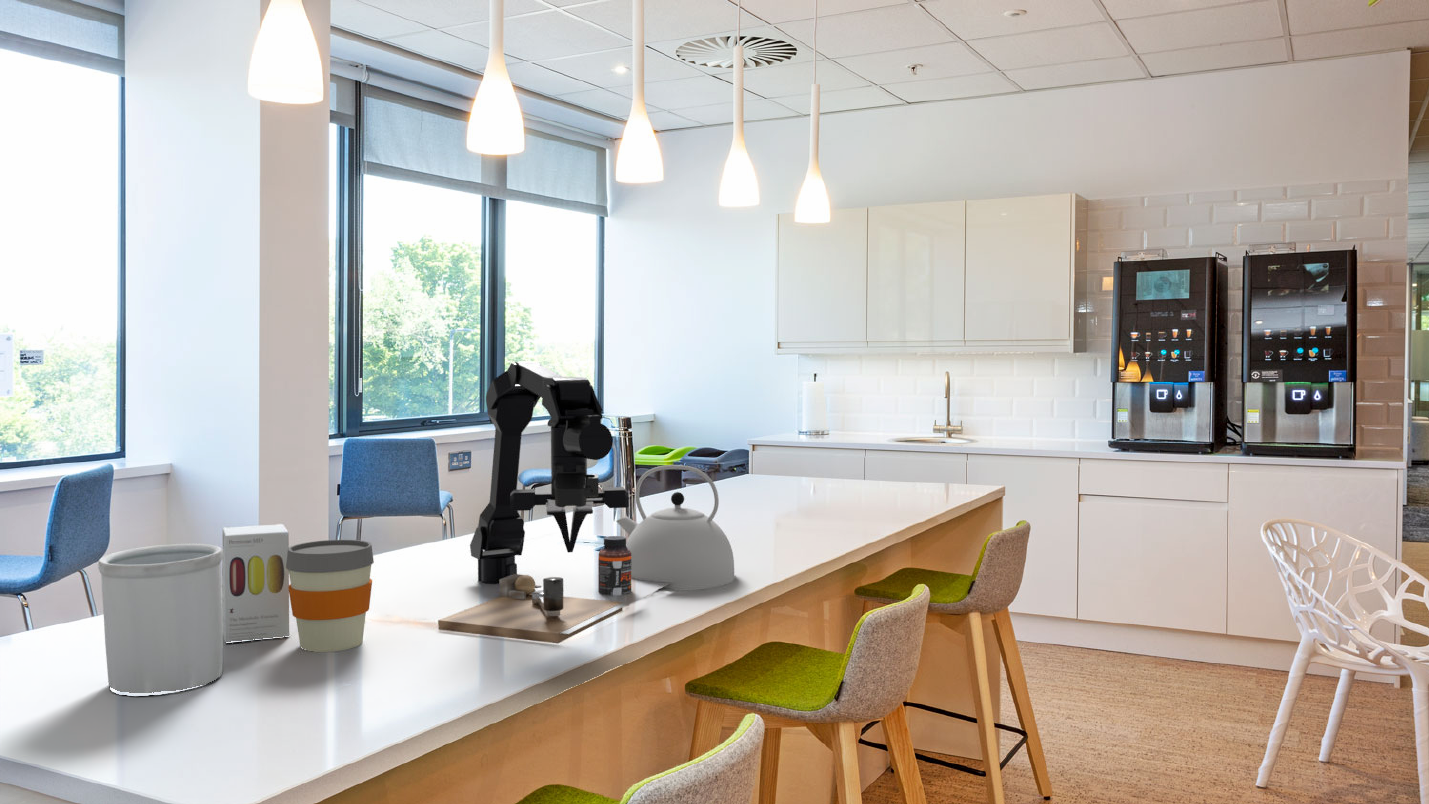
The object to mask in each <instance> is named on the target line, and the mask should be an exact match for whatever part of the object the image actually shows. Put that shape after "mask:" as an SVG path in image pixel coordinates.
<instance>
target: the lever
mask: <svg viewBox="0 0 1429 804" xmlns="http://www.w3.org/2000/svg"><path fill="white" fill-rule="evenodd" d="M542 581H543V582H542V587H541V588H534V592H532V603H533V604H537V605H540V606H541V608H542V610H543V611H544V613H545V615H546V616H560V610H562V609H563V597H564V577H558V576H550V577H545V578H543V579H542Z"/></svg>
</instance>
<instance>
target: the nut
mask: <svg viewBox="0 0 1429 804" xmlns="http://www.w3.org/2000/svg"><path fill="white" fill-rule="evenodd" d="M521 575H522V576H520V577H518V578H517V580H516V582H515V589H516V591H524V592H526V595H529V594H531V593H532V592H533V591H534V588H535V585H536V581H535V579H534V578H533V576H531V575H529V574H521Z"/></svg>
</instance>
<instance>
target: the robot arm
mask: <svg viewBox="0 0 1429 804" xmlns="http://www.w3.org/2000/svg"><path fill="white" fill-rule="evenodd" d="M540 398H541V399H542V400H541V406H543V407H544V408H545V410H546V411H547V413H548V415H549V416H550V419H548V421H547V426H548V427H550V464H551V465H550V468H551V469H550V478H551V479H550V480H551V481H550V484H551V486H550V490H551V491H550V493H536V489H535V488H533V489H532V488H531V489H528V488H527V489H518V481H519V480H518V479H519V467H520V456H521V448H522V447H521V445H522V434H523V432H524V431H525V429H526V428H527V427H528V425H529V424H530V423H531V421H532V419H533V415H534V409H535V407H536V406H537V404H538V403H539V400H540ZM485 402H486V407H487V415H488V417H489V420H491V422H492V424H493V426H494V430H495V431H494V444H493V454H492V455H493V456H492V471H491V480H490V482H491V483H490V494H489V495H490V496H489V501H488V504H487V505H486V506H485V508H484V509H483V510H482V511H481V513H480V515H479V519H478V525H477V527H476V528H475V530H474V533H473V537H472V539H471V541H470V543H469V548H470V556H471V557H473V558H475V559H477V582H481V583H483V584H486V585H487V584H488V585H499V579H502V578H505V577H508V576H511V575H513V574H518V564H517V563H516V556H522V554H523V550H524V543H525V535H526V531H525V529H524V526H525V522H524V519H523V518H522V517H521V514H520V512H522V511H523V512H525V511H526V512H527V511H531V510H533V508H534V507H535V506H545V508H546V515H547V516H553V517H554V519H555V521H556V523H557V526H558V528H559V530H560V533H561V537H562V539H563V542H564V545H565V549H566V551H567V553H569V554H570V553H573V552H574V548H575V545H576V542H577V539H578V535H579V533H580V529H581V527H582V526H583V525H582V524H583V522H584V520H585V519H586V517H587V516H588V515H591V514H594V510H593V506H594V504H596V505H597V504H599V505H600V504H605V505H606V507H608V508H609V509H621V508H622V509H623V508H624V509H626V508H629V506H630V503H629V502H630V501H629V500H630V499H629V498H630V497H629V492H628V491H627V489H625V488H624V486H614V487H613V486H612V487H609V486H608V487H602V490H601V492H599V474H597V473H593V474H588V460H593V461H598V460H601V459H603V458H605V457H607V455H609V454H610V452H611V451H612V448H613V445H614V444H613V442H614V441H613V440H614V438H613V436H612V433H611V431H610V429H609V428H608V426H606V425H605V424H603V423H602V422H601V421H602V420H603V414H602V411H603V407H602V406H601V404H600V402H599V399H598V397H597V395H596V393H595V389H594V387H593V385H592V384H591V382H590V381H589V379H588V378H587V377H579V376H578V377H577V376H562V375H560V374H558V373H556V372H554V371H552V370H550V369H549V368H546V367H544V366H542V365H541V363H539V362H536V361H515V362H512V363H510V365H509V366H508V369H507V370H506V371H504V372H503V373H501V374H500V375H498V376H497V377H495V378H494V379H492V382H491V384H490V385H489V387H488V389H487V391H486V395H485ZM566 507H573V510H572V516H571V517H572V519H571V527H570V534H569V528H568V522H567V515H566V514H567V513H566Z"/></svg>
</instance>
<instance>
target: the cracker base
mask: <svg viewBox="0 0 1429 804" xmlns="http://www.w3.org/2000/svg"><path fill="white" fill-rule="evenodd" d="M522 575H523V574H521V573H519V574H518V573H517V574H513V575H511V576H508V577H505V578H502V579H499V584H498V585H499V591H498V593H499V596H498V597H495V598H493V599H489V600H487V601H485V602H482V603H479V604H476V605H475V606H471V607H469V608H467V609H464V610H462V611H459V612H456V613H454V614H451V615H448V616H445V617H443V618H440V619H439V620H437V622H438V625H437V627H438V628H437V629H438V630H441V631H448V632H449V631H450V632H458V633H467V634H474V635H483V636H484V635H485V636H493V637H501V638H502V637H503V638H509V639H510V638H511V639H518V640H528V641H534V642H535V641H536V642H537V641H538V642H543V643H545V642H546V643H552V644H554V643H555V644H559V643H561V642H564V641H566V640H568V639H570V638H572V637H573V636H575V635H577V634H579V633H581V632H583V631H585V630H587V629H589V628H591V627H593V626H595V625H597V624H599V623H601V622H603V621H605V620H607V619H609V618H611V617H614V616H615V615H616V614H619V613H621V612H623V607H620V608H618V609H616V610H614V611H612V612H610V613H608V614H606V615H603V616H602V617H599V618H598V619H596V620H594V621H591V622H590V623H587V624H586V625H583V626H582V627H579V628H578V629H576V630H573V631H572V632H569V633H564V632H565V631H566V630H569V629H571V628H574V627H575V626H577V625H579V624H581V623H583V622H585V621H588V620H589V619H591V618H593V617H596V616H597V615H599V614H602V613H603V612H606V611H608V610H611V609H612V608H614V607H615V606H618V605H620V604H622V603H623V601H615V600H614V601H613V600H603V599H594V598H593V599H592V598H584V597H583V598H582V597H573V596H563V609H562V610H560V616H546V615H545V613H544V611H543V610H542V608H541V606H540V605H537V604H533V603H532V593H531V594H529V595H526V592H524V591H516V589H515V582H516V580H517V578H518V577H520V576H522ZM535 588H542V585H540V584H539V585H538V584H535ZM533 592H534V591H533ZM562 632H563V633H562Z"/></svg>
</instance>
